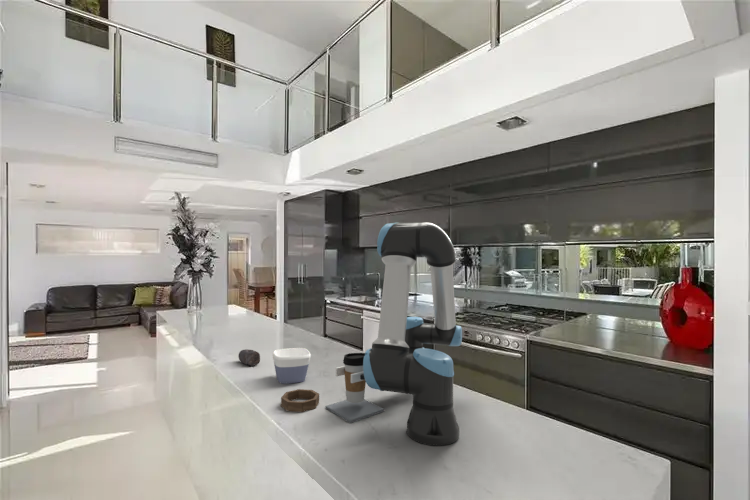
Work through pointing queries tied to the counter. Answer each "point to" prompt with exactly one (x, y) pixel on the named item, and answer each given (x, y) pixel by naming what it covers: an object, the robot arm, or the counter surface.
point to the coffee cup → (351, 366)
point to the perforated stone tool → (249, 357)
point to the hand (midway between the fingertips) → (343, 375)
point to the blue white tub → (291, 364)
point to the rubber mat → (354, 410)
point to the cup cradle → (299, 405)
